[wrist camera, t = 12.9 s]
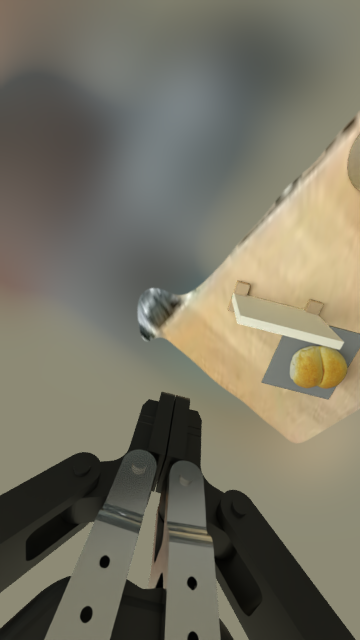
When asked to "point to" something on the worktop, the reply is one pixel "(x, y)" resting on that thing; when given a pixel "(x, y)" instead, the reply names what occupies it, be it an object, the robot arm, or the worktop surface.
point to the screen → (282, 318)
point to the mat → (289, 346)
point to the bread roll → (318, 367)
